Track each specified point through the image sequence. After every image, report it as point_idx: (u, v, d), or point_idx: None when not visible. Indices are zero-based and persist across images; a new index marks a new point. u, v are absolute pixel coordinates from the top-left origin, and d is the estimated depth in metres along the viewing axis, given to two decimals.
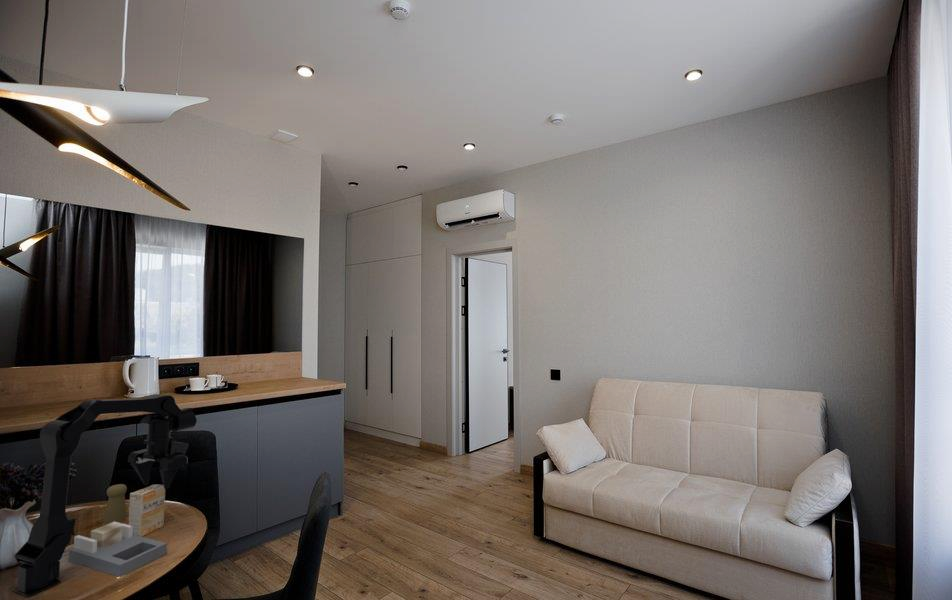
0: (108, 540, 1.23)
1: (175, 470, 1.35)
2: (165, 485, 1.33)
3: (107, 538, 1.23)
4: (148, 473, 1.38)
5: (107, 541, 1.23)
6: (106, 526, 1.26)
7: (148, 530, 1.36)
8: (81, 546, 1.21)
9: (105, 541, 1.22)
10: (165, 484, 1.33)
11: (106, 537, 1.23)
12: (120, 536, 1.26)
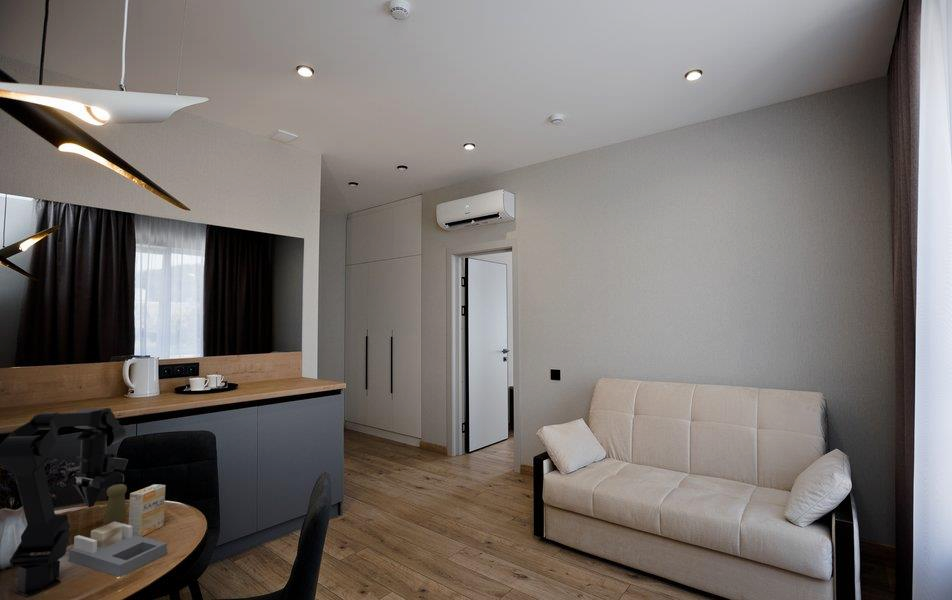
0: (108, 540, 1.23)
1: None
2: (89, 503, 1.27)
3: (107, 538, 1.23)
4: None
5: (107, 541, 1.23)
6: (106, 526, 1.26)
7: (148, 530, 1.36)
8: (81, 546, 1.21)
9: (105, 541, 1.22)
10: (89, 502, 1.26)
11: (106, 537, 1.23)
12: (120, 536, 1.26)
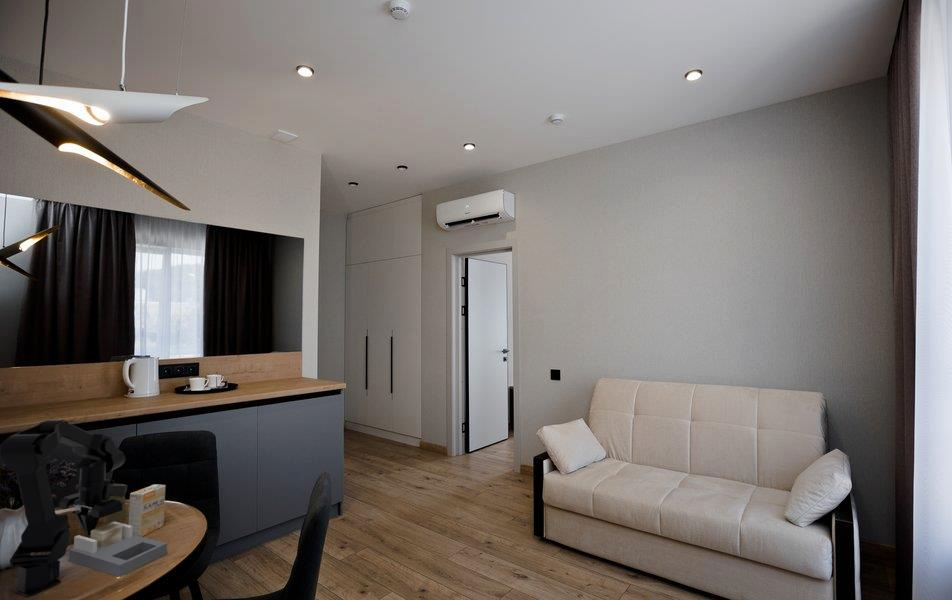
0: (108, 540, 1.23)
1: None
2: (88, 531, 1.26)
3: (107, 538, 1.23)
4: None
5: (107, 541, 1.23)
6: (106, 526, 1.26)
7: (148, 530, 1.36)
8: (81, 546, 1.21)
9: (105, 541, 1.22)
10: (88, 530, 1.26)
11: (106, 537, 1.23)
12: (120, 536, 1.26)
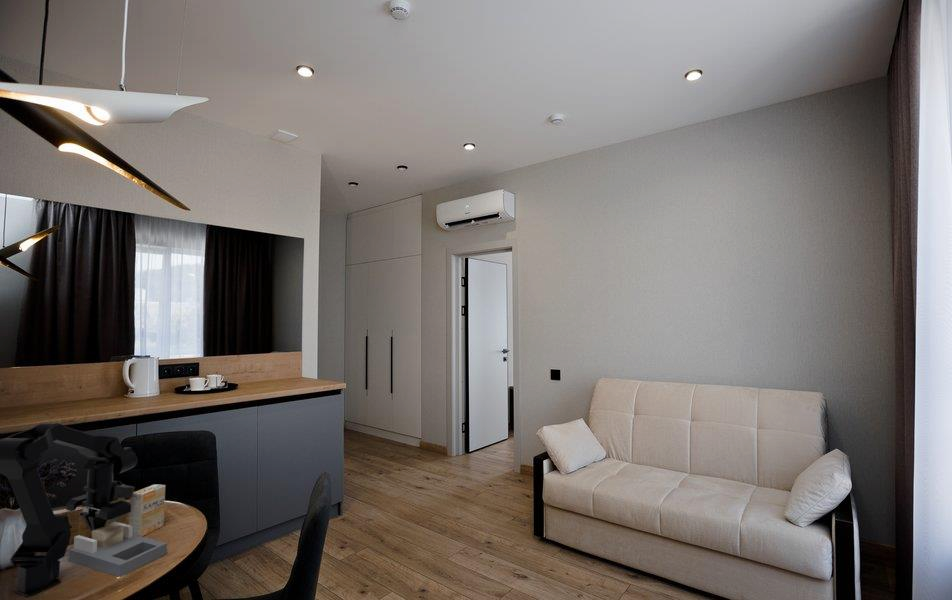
0: (109, 540, 1.23)
1: None
2: None
3: (108, 538, 1.23)
4: None
5: (109, 541, 1.23)
6: (107, 526, 1.26)
7: (148, 530, 1.36)
8: (81, 546, 1.21)
9: (107, 541, 1.22)
10: None
11: (108, 537, 1.22)
12: (121, 536, 1.26)
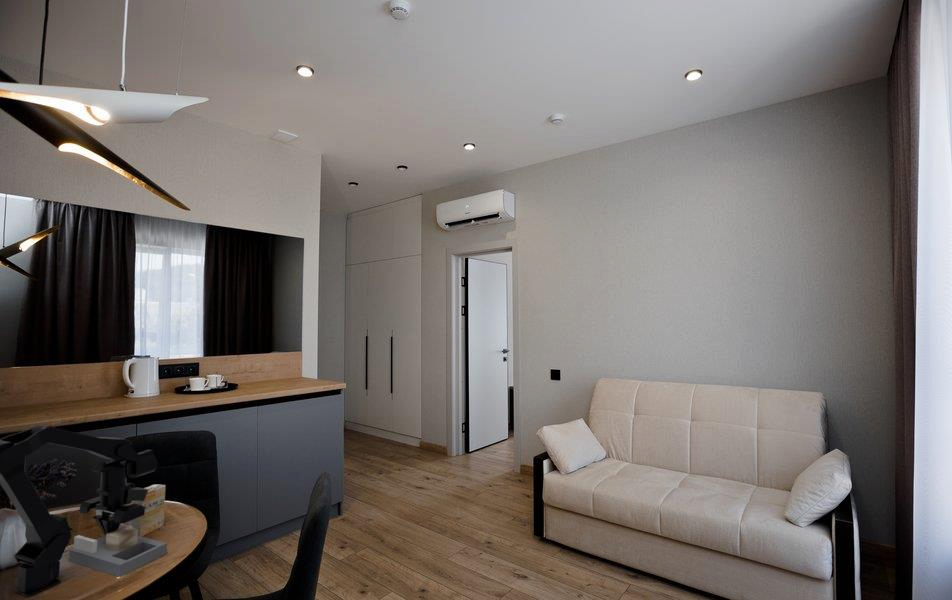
0: (123, 544, 1.21)
1: None
2: None
3: (122, 542, 1.21)
4: None
5: (123, 544, 1.21)
6: (121, 529, 1.24)
7: (148, 530, 1.36)
8: (81, 546, 1.21)
9: (121, 544, 1.20)
10: None
11: (122, 540, 1.21)
12: (136, 539, 1.24)
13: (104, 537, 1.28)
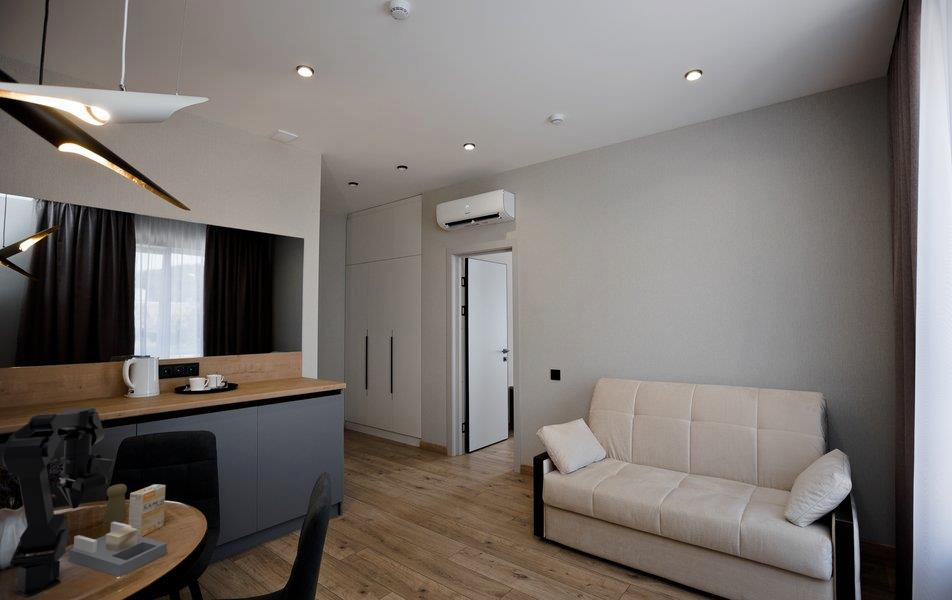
0: (124, 544, 1.21)
1: None
2: (72, 504, 1.25)
3: (123, 542, 1.21)
4: None
5: (123, 544, 1.21)
6: (121, 529, 1.24)
7: (148, 530, 1.36)
8: (81, 546, 1.21)
9: (121, 544, 1.20)
10: (72, 503, 1.25)
11: (122, 540, 1.21)
12: (136, 539, 1.24)
13: (104, 537, 1.28)
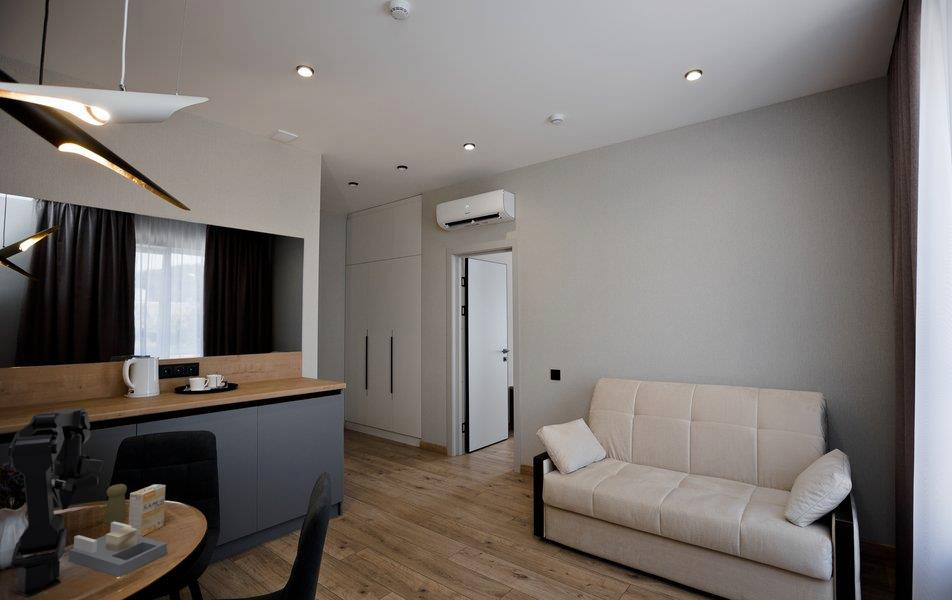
0: (124, 544, 1.21)
1: None
2: (62, 505, 1.24)
3: (123, 542, 1.21)
4: None
5: (123, 544, 1.21)
6: (121, 529, 1.24)
7: (148, 530, 1.36)
8: (81, 546, 1.21)
9: (121, 544, 1.20)
10: (62, 504, 1.24)
11: (122, 540, 1.21)
12: (136, 539, 1.24)
13: (104, 537, 1.28)
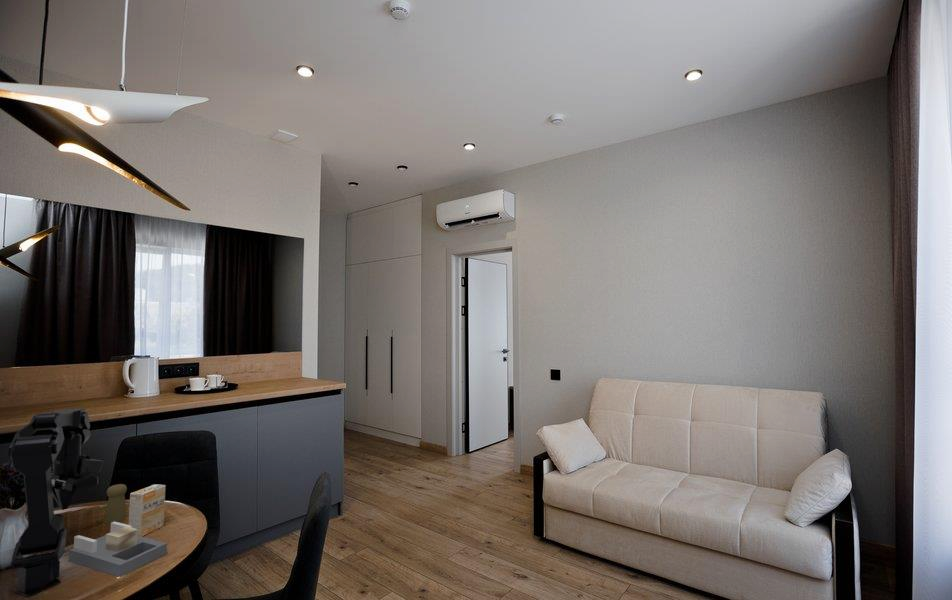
0: (124, 544, 1.21)
1: None
2: (62, 505, 1.24)
3: (123, 542, 1.21)
4: None
5: (123, 544, 1.21)
6: (121, 529, 1.24)
7: (148, 530, 1.36)
8: (81, 546, 1.21)
9: (121, 544, 1.20)
10: (62, 504, 1.24)
11: (122, 540, 1.21)
12: (136, 539, 1.24)
13: (104, 537, 1.28)
